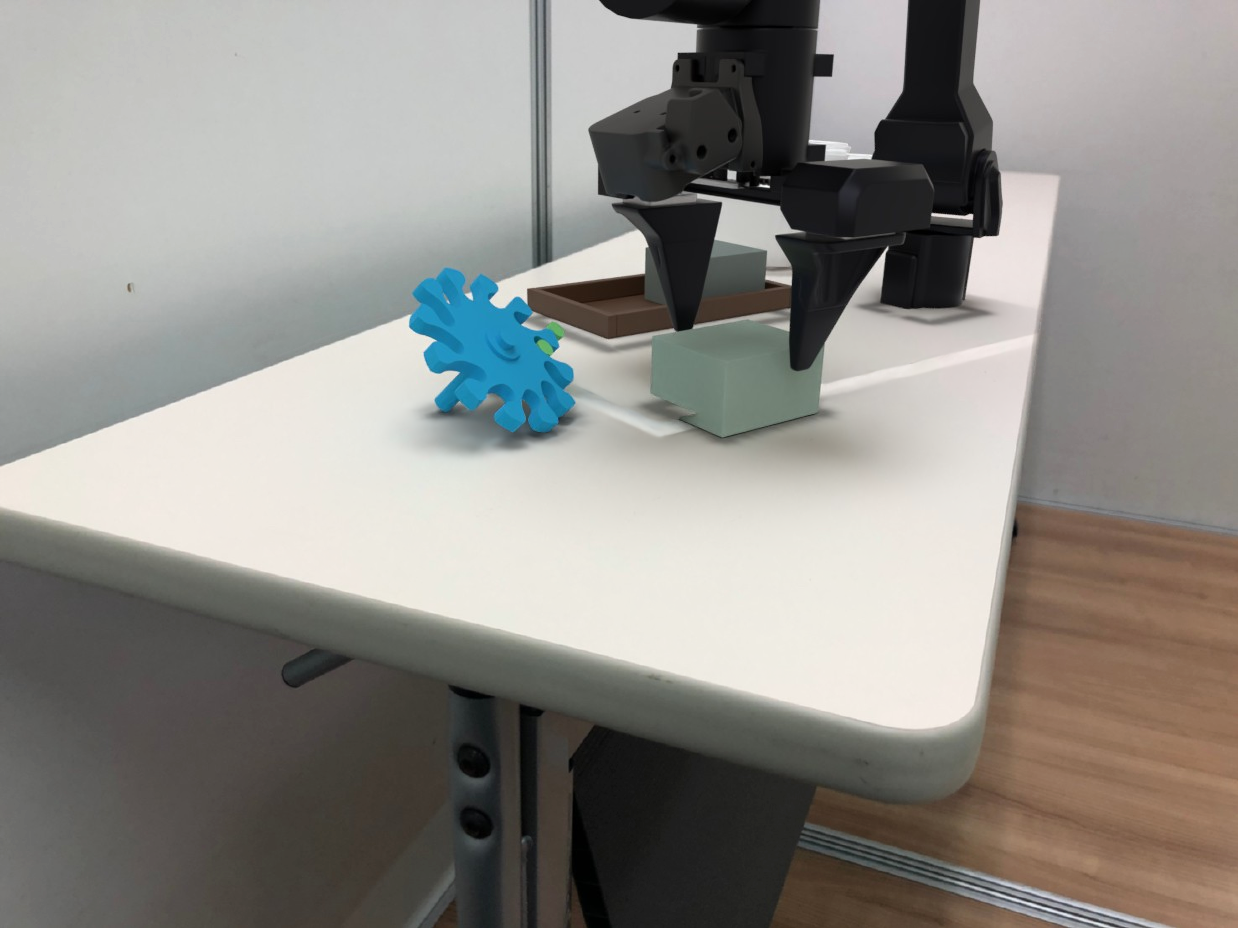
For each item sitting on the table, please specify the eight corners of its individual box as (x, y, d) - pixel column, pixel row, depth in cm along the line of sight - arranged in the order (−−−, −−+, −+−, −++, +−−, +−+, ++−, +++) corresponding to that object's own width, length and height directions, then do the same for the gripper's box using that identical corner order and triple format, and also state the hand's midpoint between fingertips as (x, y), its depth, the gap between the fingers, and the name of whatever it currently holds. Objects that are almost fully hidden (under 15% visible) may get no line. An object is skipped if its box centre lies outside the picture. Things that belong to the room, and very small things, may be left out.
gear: (498, 433, 44) (387, 260, 46) (426, 500, 47) (325, 335, 49) (623, 402, 53) (527, 258, 55) (556, 459, 57) (467, 322, 58)
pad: (712, 289, 79) (714, 239, 77) (764, 302, 74) (767, 250, 73) (644, 299, 75) (645, 247, 73) (693, 314, 70) (696, 259, 69)
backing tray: (705, 292, 81) (707, 265, 81) (794, 316, 74) (797, 286, 73) (527, 319, 72) (526, 288, 71) (608, 350, 64) (608, 316, 63)
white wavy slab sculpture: (753, 222, 120) (758, 132, 116) (887, 232, 114) (898, 137, 110) (639, 269, 90) (641, 151, 86) (812, 286, 84) (823, 160, 80)
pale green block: (743, 385, 57) (748, 319, 56) (818, 412, 53) (825, 341, 51) (649, 406, 53) (651, 335, 52) (722, 438, 49) (726, 361, 47)
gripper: (510, 29, 49) (518, 333, 54) (772, 16, 35) (745, 427, 40) (682, 36, 55) (673, 309, 61) (964, 27, 41) (917, 383, 47)
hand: (737, 349), depth 52 cm, fingers open, 9 cm apart
